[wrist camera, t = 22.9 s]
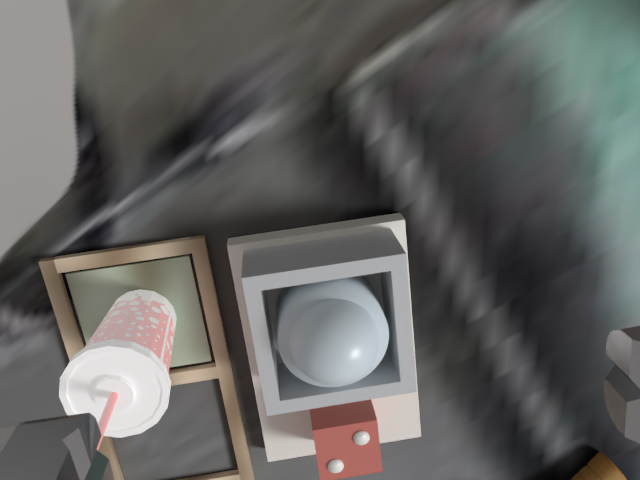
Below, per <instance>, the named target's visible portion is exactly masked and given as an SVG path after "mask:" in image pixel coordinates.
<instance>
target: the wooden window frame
mask: <svg viewBox="0 0 640 480" xmlns="http://www.w3.org/2000/svg"><path fill="white" fill-rule="evenodd" d="M185 254H192V256H193V261H194V265H195V270H196V275H197V279H198V284H199V289H200V293H201V298H202V303H203V307H204V312H205V317H206V321H207V326H208V331H209V335H210V340H211V345H212V349H213V354H214V358H215V363H209V364H202V365H196V366H190V367H183V368H177V369H171V370H169V377H170V380H171V386H173V385H179V384H185V383H192V382H198V381H204V380H211V379H217V378H219V382H220V386H221V391H222V396H223V400H224V405H225V410H226V414H227V419H228V424H229V428H230V433H231V438H232V442H233V447H234V452H235V456H236V461H237V465H238V469H236V470H230V471H224V472H218V473H212V474H206V475H200V476H194V477H188V478H182V479H176V480H255V479H254V474H253V469H252V464H251V459H250V454H249V449H248V445H247V440H246V435H245V430H244V425H243V420H242V415H241V410H240V405H239V401H238V396H237V391H236V386H235V381H234V376H233V371H232V366H231V361H230V356H229V352H228V347H227V342H226V337H225V332H224V327H223V322H222V317H221V312H220V307H219V303H218V298H217V293H216V288H215V283H214V278H213V273H212V268H211V263H210V259H209V254H208V249H207V244H206V239H205V235H198V236H192V237H185V238H178V239H171V240H164V241H158V242H151V243H144V244H137V245H130V246H124V247H117V248H110V249H103V250H96V251H90V252H83V253H76V254H69V255H63V256H56V257H49V258H42V259H41V260H40V261H39V262H38V263H39V266H40V269H41V272H42V275H43V278H44V282H45V285H46V288H47V291H48V294H49V297H50V301H51V304H52V307H53V310H54V313H55V316H56V319H57V323H58V326H59V329H60V332H61V335H62V338H63V342H64V345H65V348H66V351H67V354H68V357H69V361H71V359H72V358H73V356H74V355H75V354H76V353H78V352H79V351H81V350H82V349H84V346H83V342H82V339H81V336H80V333H79V329H78V326H77V323H76V319H75V316H74V313H73V309H72V306H71V303H70V300H69V296H68V293H67V290H66V286H65V283H64V280H63V277H62V273H64V272H71V271H78V270H84V269H91V268H98V267H104V266H111V265H118V264H125V263H131V262H138V261H145V260H152V259H158V258H165V257H172V256H179V255H185ZM65 275H66V279H67V282H68V285H69V289H70V292H71V295H72V298H73V302H74V305H75V308H76V312H77V315H78V318H79V322H80V325H81V328H82V332H83V335H84V338H85V342H86V344H87V343H88V342H89V340H90V339H91V337H92V336H93V334H94V333H95V331H96V330H97V328H98V327H99V325H100V324H101V322H102V321H103V319H104V318H105V316H106V315H107V313H108V312H109V310H110V309H111V307H112V306H113V304H114V303H115V301H116V300H117V299H118V298H119V297H121V296H122V295H124V294H125V293H127V292H130V291H134V290H139V289H142V290H149V291H154V292H156V293H158V294H160V295H162V296H164V297H165V298H166V299H167V300H168V301H169V302H170V304H171V305H172V306H173V308H174V311H175V314H176V317H177V318H176V326H175V333H174V340H173V347H172V354H171V360H170V367H176V366H182V365H189V364H195V363H201V362H208V361H212V357H211V353H210V348H209V343H208V339H207V334H206V329H205V325H204V320H203V316H202V311H201V306H200V302H199V297H198V293H197V288H196V283H195V279H194V274H193V270H192V265H191V260H190V256H189V255H186V256H179V257H172V258H165V259H159V260H152V261H145V262H138V263H132V264H125V265H118V266H112V267H105V268H98V269H91V270H85V271H78V272H71V273H66V274H65ZM170 367H169V368H170ZM98 451H99V452H100V453H102V454H103V455H105V456H106V457H107V458H109V461H110V464H111V468H112V471H113V477H114V480H124V477H123V474H122V471H121V468H120V464H119V461H118V458H117V454H116V451H115V448H114V445H113V441H112V438H111V437H109V436H103V438H102V441H101V444H100V446H99V449H98Z"/></svg>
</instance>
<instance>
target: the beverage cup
mask: <svg viewBox="0 0 640 480" xmlns="http://www.w3.org/2000/svg"><path fill="white" fill-rule="evenodd" d="M176 318H177V317H176V314H175V311H174V308H173V306H172V305H171V304H170V302H169V301H168V300H167V299H166V298H165V297H164V296H162V295H160V294H158V293H156V292H154V291H149V290H142V289H139V290H134V291H130V292H127V293H125V294H124V295H122V296H121V297H119V298H118V299H117V300H116V301H115V303H114V304H113V306H112V307H111V309H110V310H109V312H108V313H107V315H106V316H105V318H104V319H103V321H102V322H101V324H100V325H99V327H98V328H97V330H96V331H95V333H94V334H93V336H92V337H91V339H90V340H89V342H88V343H87V344H86V346H85V347H84V349H82V350H81V351H79V352H78V353H76V354H75V355H74V356H73V358H72V359H71V361H70V362H69V364H68V366H67V367H66V369H65V371H64V372H63V374H62V376H61V377H60V387H59V398H60V400H61V402H62V405H63V407H64V409H65V412H66V414H67V415H68V416H69V415H76V414H83V413H90V414H92V415H93V416H94V417H96V420H97V423H98V426H99V429H100V432H101V435H102V436H101V438H100V441H99V444H98V447H97V450H98V449H99V446H100V444H101V441H102V438H103V436H109V437H119V438H122V437H126V436H131V435H135V434H140V433H142V432H144V431H145V430H147V429H148V428H150V427H152V426H153V425H155V424H156V423H158V421H159V420H160V418H161V417H162V415H163V414H164V412H165V411H166V409H167V408H168V403H169V395H170V388H171V380H170V377H169V367H170V360H171V354H172V347H173V340H174V333H175V326H176Z"/></svg>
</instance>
